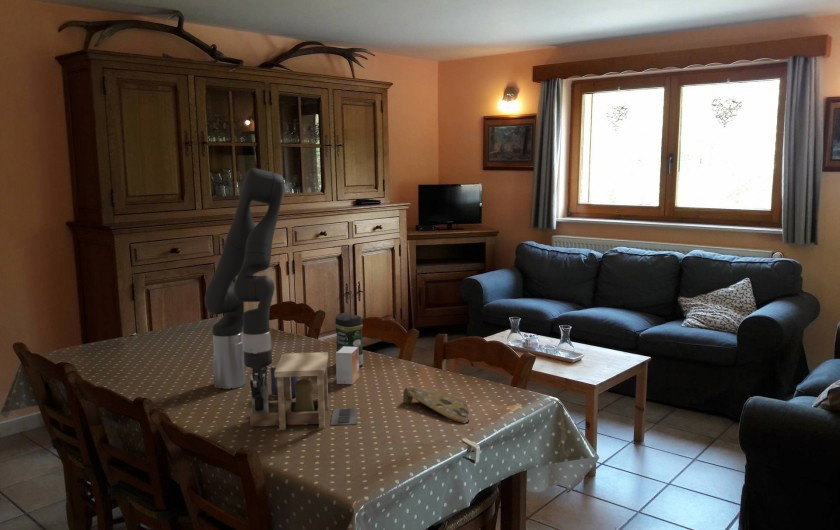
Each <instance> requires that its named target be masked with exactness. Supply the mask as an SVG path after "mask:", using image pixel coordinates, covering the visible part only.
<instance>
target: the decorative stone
mask: <svg viewBox="0 0 840 530" xmlns="http://www.w3.org/2000/svg"><path fill="white" fill-rule="evenodd" d="M402 394H403V396H402V403H404V404H410V403H412V402H413V399H414V400H416V401H417V402H420V403H421V404H423V405H425V407H428V408H430V409H431V410H433V411H435V412H436V413H438V414H440V415H442V416H444V417H445V418H448V419H450V420H451V421H455V422H457V421H458V422H457V423H460V422H466V421H467V420H468V414H469V410H470V409H469V410H468V408H469V406H468V404H467V405H466V401H467V399H464V398H463V397H459V396H456V395H453V394H451V393H447V392H444V391H443V392H442V391H440V390H437V389H418V388H414V387H411V386H406V387H405V388H404V390H403V393H402ZM409 402H410V403H409ZM467 406H468V407H467Z"/></svg>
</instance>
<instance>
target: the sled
mask: <svg viewBox="0 0 840 530" xmlns="http://www.w3.org/2000/svg"><path fill="white" fill-rule="evenodd" d="M250 393H251V395H252V392H250ZM256 393H259V392H256ZM263 395H264V396H263V405H264V409H263V410H262V411H256V410H255V398H252V397H251V408H252V409H251V410H252V413H250V414H249V424H250V427H266V426H267V427H268V426H279V407H278V400H269V387H268V384H267V385H265V388H264V389H263ZM312 399H313V398H312ZM295 404H296V399H292V400H286V399H285V418H286V426H291V425H294V426H295V425H314V424H316V425H317V424H318V425H319V414H318V398H314V399H313V404H314V410H315V411H306V412H295ZM326 410H327V409H326V404H325V399H324V411H325V412H326Z"/></svg>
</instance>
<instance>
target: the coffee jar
mask: <svg viewBox="0 0 840 530" xmlns="http://www.w3.org/2000/svg"><path fill="white" fill-rule="evenodd" d="M334 326H335V330H336V352H338V351H339V350H340V349H341V348H342V347H343V346H345V347H359V368H360V367H361V366H363V365H364V351H363V339H362V336H363V335H362V331H363V326H364V325H363V318H362V317H361V315H356V314H351V313H348V312H342V313H338V314H336V316H335V321H334Z"/></svg>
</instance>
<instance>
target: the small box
mask: <svg viewBox="0 0 840 530" xmlns="http://www.w3.org/2000/svg"><path fill="white" fill-rule="evenodd" d="M335 373H336V374H335V375H336V384H338V385H353V384H355V383H356V381H357V380H358V379H359V378H360V367H359V347H345V346H343V347H342V348H341V349H340V350H339V351H338V352H337V351H336V352H335Z"/></svg>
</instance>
